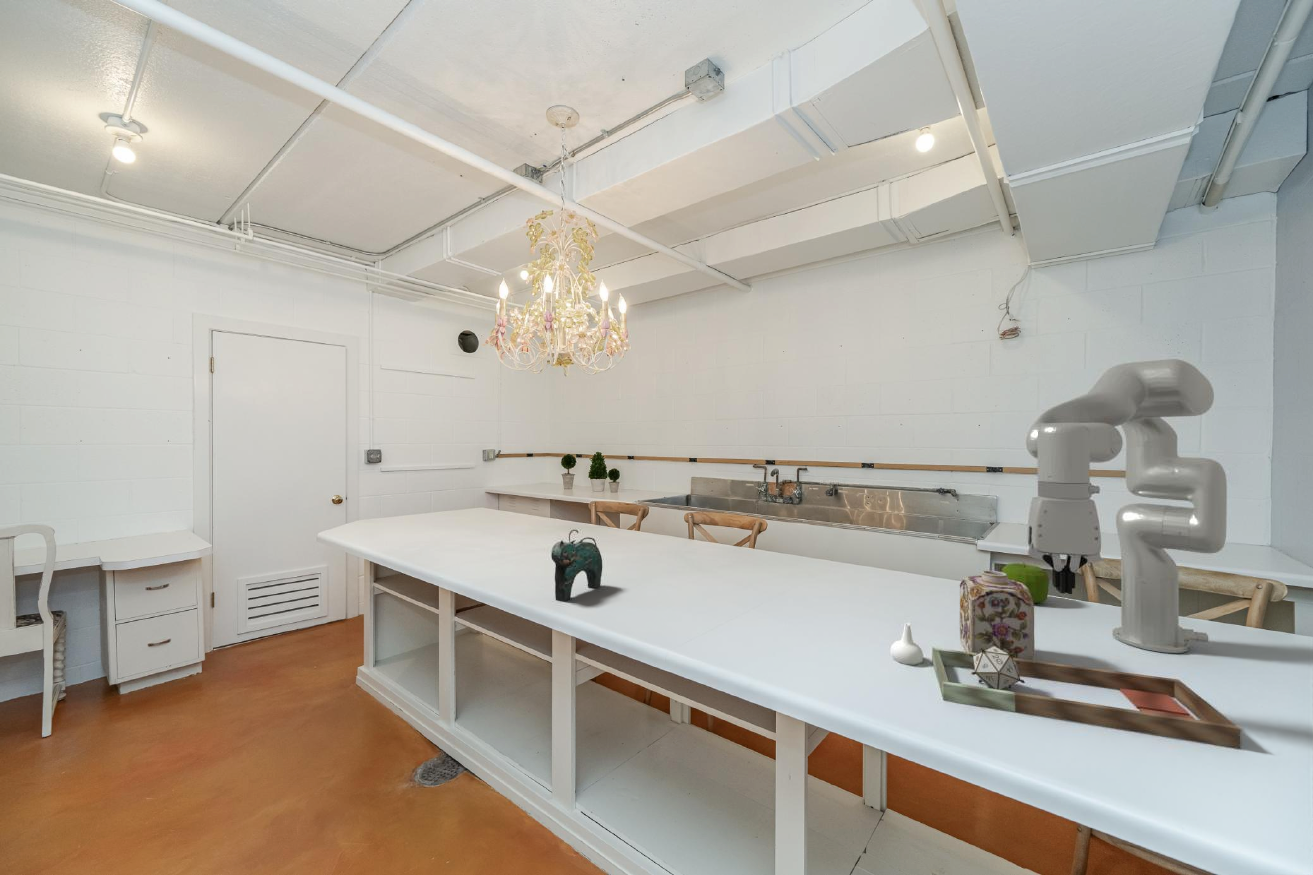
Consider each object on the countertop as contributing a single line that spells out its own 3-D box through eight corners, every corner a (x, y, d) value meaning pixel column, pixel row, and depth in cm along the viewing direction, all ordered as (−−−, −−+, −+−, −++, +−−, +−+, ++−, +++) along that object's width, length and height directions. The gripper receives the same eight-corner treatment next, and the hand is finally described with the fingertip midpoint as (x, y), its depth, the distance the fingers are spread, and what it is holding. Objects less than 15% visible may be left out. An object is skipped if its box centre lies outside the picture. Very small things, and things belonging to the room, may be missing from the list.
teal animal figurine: (562, 604, 149) (561, 534, 149) (546, 600, 153) (545, 532, 152) (606, 586, 166) (605, 524, 166) (590, 583, 169) (589, 522, 169)
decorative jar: (969, 662, 110) (969, 577, 110) (958, 641, 121) (958, 563, 121) (1036, 670, 106) (1036, 582, 105) (1019, 648, 117) (1018, 568, 116)
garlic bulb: (891, 665, 110) (891, 629, 109) (889, 651, 116) (889, 616, 115) (924, 670, 107) (924, 633, 107) (921, 655, 113) (921, 620, 112)
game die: (1008, 711, 97) (1046, 681, 92) (968, 697, 97) (1004, 666, 92) (988, 669, 105) (1022, 639, 100) (950, 655, 104) (983, 625, 99)
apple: (1006, 604, 146) (1006, 565, 146) (997, 592, 156) (996, 556, 156) (1054, 608, 142) (1054, 568, 142) (1041, 596, 152) (1041, 559, 152)
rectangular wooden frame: (1178, 695, 95) (1178, 679, 95) (1240, 748, 79) (1240, 728, 79) (932, 661, 110) (932, 647, 110) (943, 700, 94) (943, 683, 94)
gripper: (1105, 490, 96) (1106, 589, 96) (1009, 488, 101) (1010, 582, 102) (1124, 495, 89) (1124, 602, 89) (1020, 492, 94) (1020, 593, 95)
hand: (1063, 591), depth 95 cm, fingers closed
